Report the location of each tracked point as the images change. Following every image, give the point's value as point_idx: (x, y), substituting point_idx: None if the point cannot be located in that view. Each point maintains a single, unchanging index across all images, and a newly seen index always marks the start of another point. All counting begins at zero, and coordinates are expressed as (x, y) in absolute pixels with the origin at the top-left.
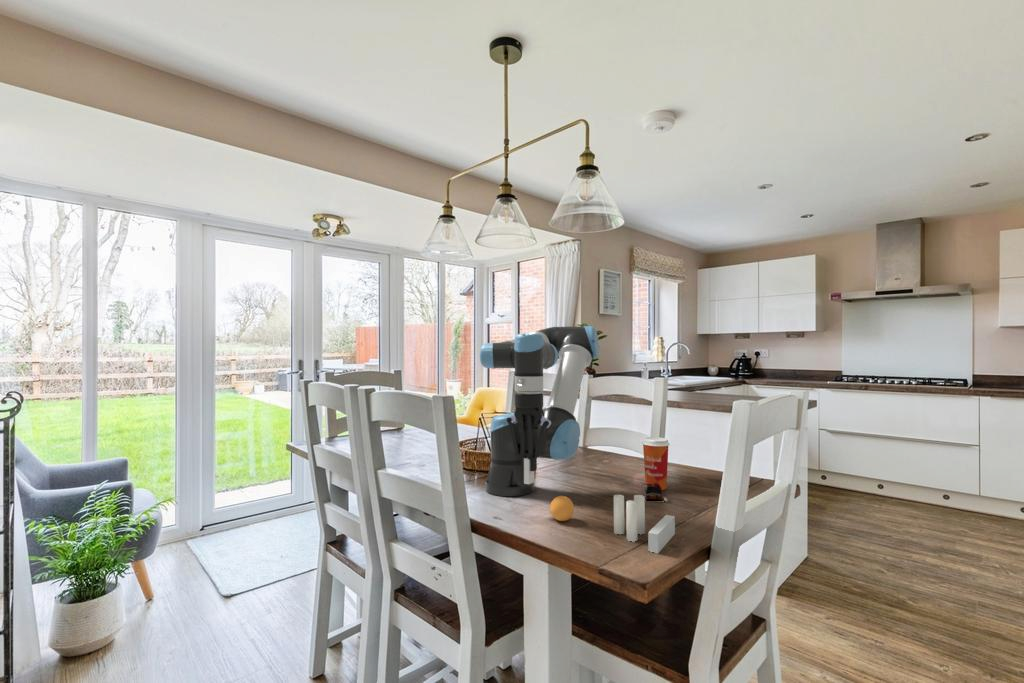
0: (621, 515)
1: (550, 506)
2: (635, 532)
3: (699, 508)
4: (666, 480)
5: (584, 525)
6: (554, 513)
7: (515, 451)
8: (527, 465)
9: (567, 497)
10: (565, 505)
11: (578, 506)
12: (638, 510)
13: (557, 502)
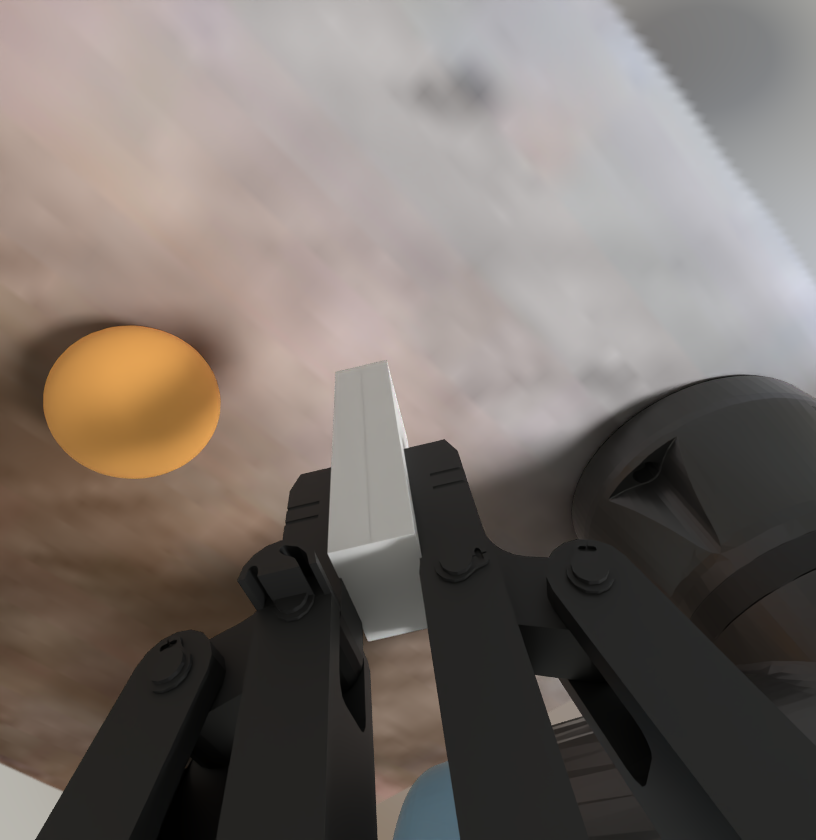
0: None
1: (162, 352)
2: None
3: (18, 753)
4: None
5: (34, 399)
6: (119, 327)
7: (621, 575)
8: (351, 481)
9: (99, 469)
10: (44, 395)
11: None
12: None
13: (82, 377)
